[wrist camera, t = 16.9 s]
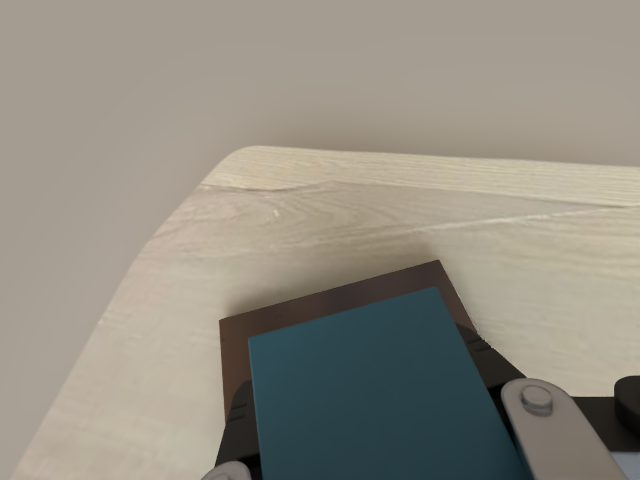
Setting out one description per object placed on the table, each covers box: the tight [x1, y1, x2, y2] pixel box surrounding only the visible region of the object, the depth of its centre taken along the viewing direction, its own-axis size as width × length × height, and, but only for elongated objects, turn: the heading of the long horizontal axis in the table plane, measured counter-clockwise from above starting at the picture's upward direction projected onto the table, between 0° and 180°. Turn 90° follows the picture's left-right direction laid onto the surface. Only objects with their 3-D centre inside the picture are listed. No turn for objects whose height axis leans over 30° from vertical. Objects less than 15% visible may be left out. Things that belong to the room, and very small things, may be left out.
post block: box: [248, 287, 529, 480], centre depth 10 cm, size 5×5×9 cm
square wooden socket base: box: [219, 260, 478, 426], centre depth 14 cm, size 14×14×2 cm
